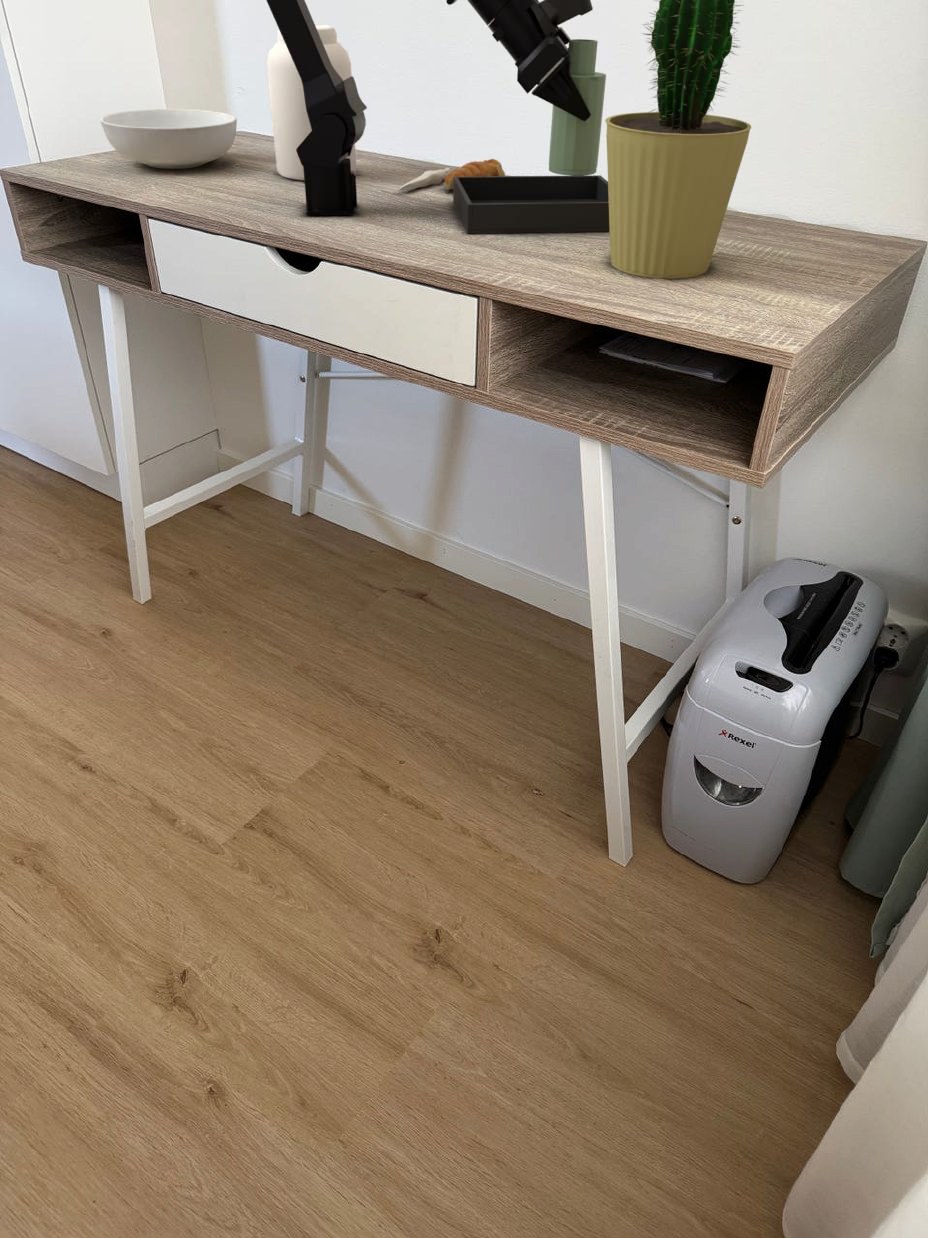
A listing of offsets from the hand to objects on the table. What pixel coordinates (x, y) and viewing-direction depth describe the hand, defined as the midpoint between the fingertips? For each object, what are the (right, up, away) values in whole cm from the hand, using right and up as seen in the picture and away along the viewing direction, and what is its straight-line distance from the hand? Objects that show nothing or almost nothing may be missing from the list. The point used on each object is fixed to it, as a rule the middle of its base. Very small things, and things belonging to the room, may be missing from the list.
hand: (588, 114), depth 117 cm
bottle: (-1, -5, +4) cm, 7 cm away
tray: (-6, -9, +9) cm, 14 cm away
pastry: (-14, +1, +23) cm, 27 cm away
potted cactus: (+7, -23, -9) cm, 25 cm away
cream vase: (-39, +7, +30) cm, 50 cm away
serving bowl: (-63, +11, +35) cm, 73 cm away
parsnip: (-22, +2, +25) cm, 33 cm away
